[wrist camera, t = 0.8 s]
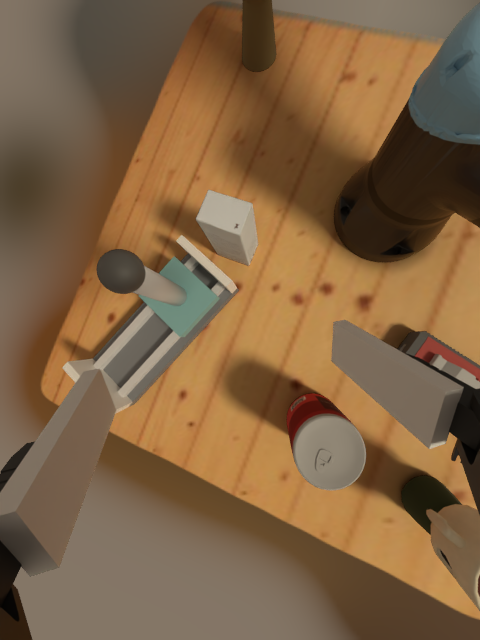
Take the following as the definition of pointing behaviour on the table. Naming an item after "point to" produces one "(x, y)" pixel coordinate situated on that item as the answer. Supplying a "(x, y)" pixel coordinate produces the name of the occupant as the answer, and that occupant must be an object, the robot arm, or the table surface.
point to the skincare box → (229, 226)
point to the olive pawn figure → (258, 35)
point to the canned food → (324, 443)
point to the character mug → (448, 530)
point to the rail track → (151, 338)
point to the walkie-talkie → (441, 357)
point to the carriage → (159, 288)
